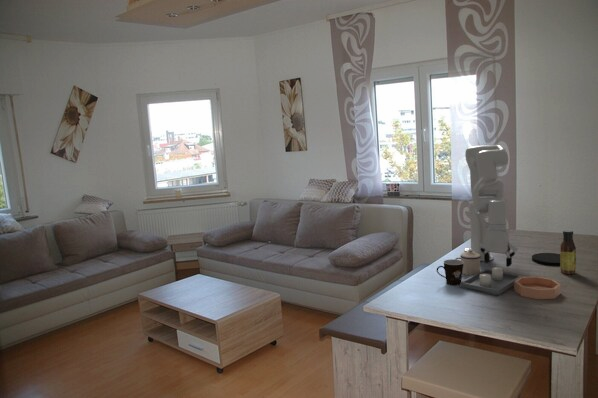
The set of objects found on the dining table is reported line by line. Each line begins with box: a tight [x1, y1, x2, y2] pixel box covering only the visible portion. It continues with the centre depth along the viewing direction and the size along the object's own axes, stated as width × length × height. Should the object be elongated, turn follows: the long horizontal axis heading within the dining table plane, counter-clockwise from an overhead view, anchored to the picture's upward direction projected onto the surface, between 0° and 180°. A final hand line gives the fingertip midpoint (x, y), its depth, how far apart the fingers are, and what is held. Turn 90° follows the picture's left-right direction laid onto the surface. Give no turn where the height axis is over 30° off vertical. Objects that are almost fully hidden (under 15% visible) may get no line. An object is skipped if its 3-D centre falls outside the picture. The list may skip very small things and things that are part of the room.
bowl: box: [513, 275, 562, 300], centre depth 189 cm, size 16×16×4 cm
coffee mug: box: [436, 258, 464, 287], centre depth 206 cm, size 12×9×10 cm
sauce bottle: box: [559, 229, 577, 275], centre depth 208 cm, size 7×6×20 cm
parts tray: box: [459, 268, 523, 297], centre depth 201 cm, size 17×24×2 cm
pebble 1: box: [480, 274, 491, 288], centre depth 197 cm, size 5×5×5 cm
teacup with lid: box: [454, 248, 481, 277], centre depth 218 cm, size 12×9×12 cm
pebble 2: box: [491, 266, 504, 281], centre depth 205 cm, size 5×5×5 cm
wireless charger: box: [531, 252, 560, 267], centre depth 229 cm, size 18×18×2 cm
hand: (497, 264), depth 204 cm, fingers open, 9 cm apart
